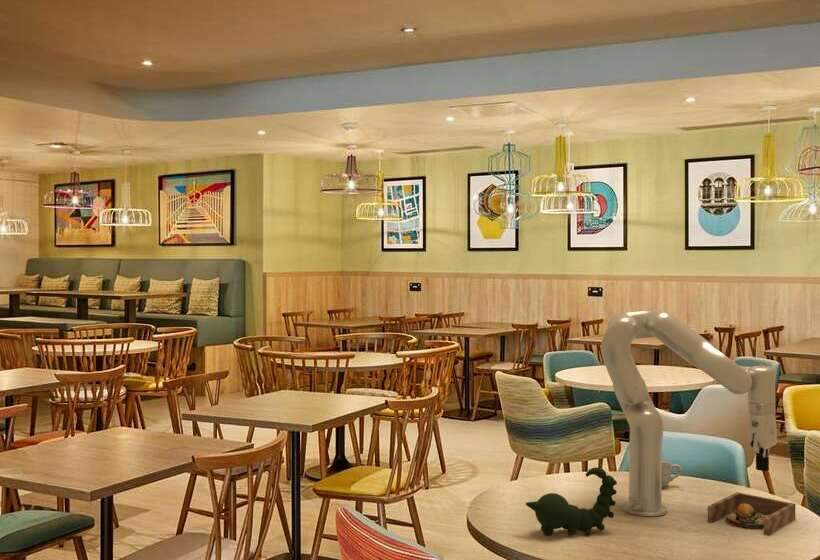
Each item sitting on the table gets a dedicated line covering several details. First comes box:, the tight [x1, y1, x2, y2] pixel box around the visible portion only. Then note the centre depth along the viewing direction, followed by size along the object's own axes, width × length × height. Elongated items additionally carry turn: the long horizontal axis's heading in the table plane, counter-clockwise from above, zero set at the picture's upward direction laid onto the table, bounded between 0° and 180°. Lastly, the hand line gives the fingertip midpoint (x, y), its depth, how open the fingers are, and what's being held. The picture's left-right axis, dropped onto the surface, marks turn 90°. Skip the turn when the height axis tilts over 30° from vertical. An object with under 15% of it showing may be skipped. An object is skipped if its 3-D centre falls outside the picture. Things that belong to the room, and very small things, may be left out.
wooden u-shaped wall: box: [707, 491, 796, 536], centre depth 248 cm, size 20×17×4 cm
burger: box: [725, 501, 767, 530], centre depth 246 cm, size 12×12×8 cm
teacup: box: [662, 460, 683, 488], centre depth 285 cm, size 14×11×8 cm
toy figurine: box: [525, 467, 618, 537], centre depth 237 cm, size 10×19×26 cm
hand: (762, 469), depth 252 cm, fingers closed
